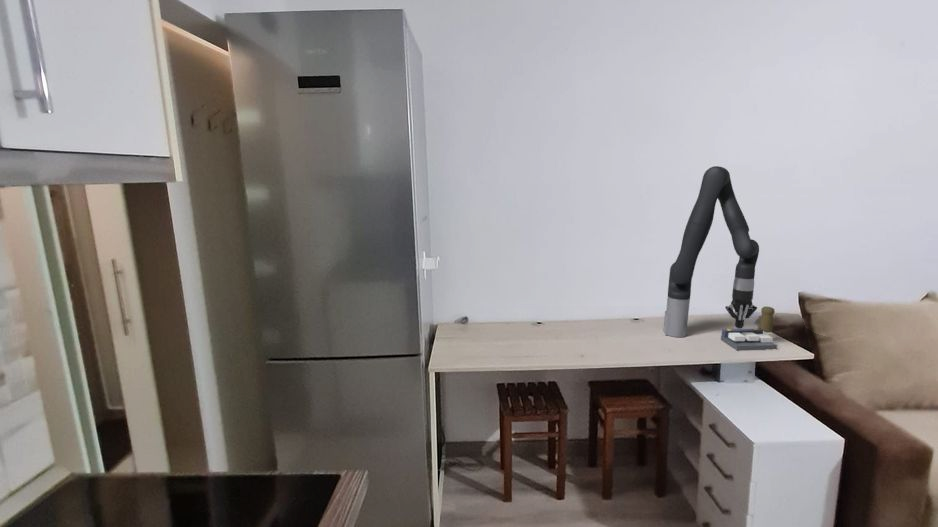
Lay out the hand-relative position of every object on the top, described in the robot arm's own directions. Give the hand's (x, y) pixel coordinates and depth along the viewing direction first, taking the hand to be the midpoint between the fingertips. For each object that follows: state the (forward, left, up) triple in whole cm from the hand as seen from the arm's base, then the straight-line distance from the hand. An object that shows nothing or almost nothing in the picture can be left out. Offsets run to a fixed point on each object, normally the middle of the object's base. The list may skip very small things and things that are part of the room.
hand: (739, 327), depth 209 cm
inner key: (0, 0, -5) cm, 5 cm away
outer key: (+11, +3, -6) cm, 13 cm away
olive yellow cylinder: (+19, +24, -8) cm, 32 cm away
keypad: (+5, +2, -8) cm, 10 cm away
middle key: (+5, +1, -5) cm, 7 cm away
